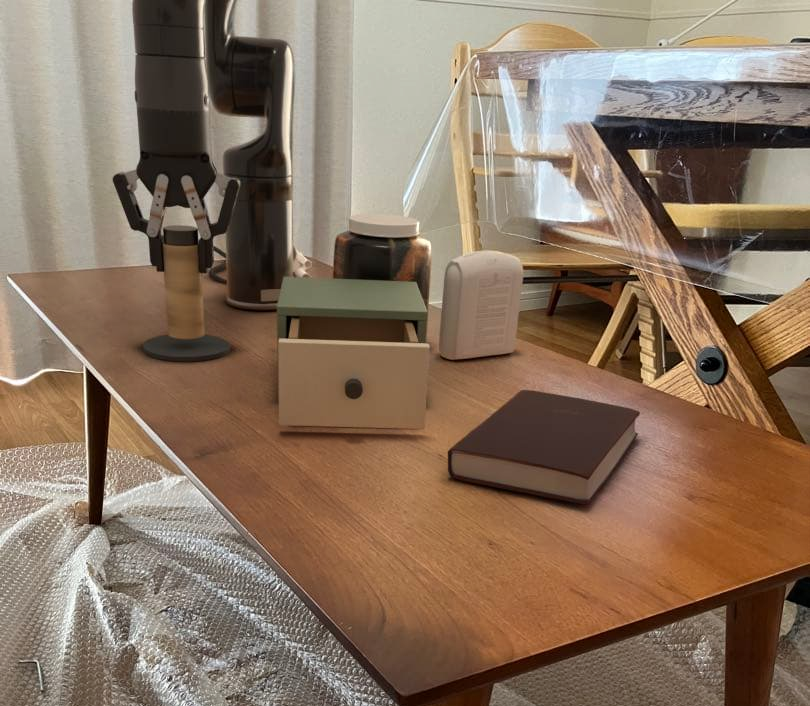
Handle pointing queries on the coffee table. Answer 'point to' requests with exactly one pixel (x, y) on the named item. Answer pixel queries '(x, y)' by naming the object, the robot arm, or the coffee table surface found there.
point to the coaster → (186, 348)
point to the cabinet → (349, 302)
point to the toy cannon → (296, 265)
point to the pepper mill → (183, 282)
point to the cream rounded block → (480, 305)
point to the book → (546, 446)
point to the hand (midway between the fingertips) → (182, 270)
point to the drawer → (352, 373)
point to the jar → (384, 251)
